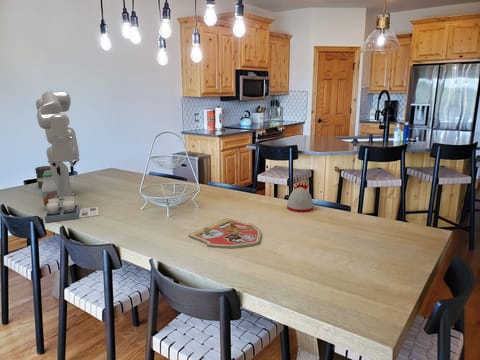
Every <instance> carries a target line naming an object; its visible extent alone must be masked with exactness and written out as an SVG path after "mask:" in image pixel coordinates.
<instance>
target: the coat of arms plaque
mask: <svg viewBox="0 0 480 360" xmlns="http://www.w3.org/2000/svg"><path fill="white" fill-rule="evenodd" d="M187 236H188V238H190V239H193V240H196V241H198V242H199V243H200V242H201V243H202V244H204V245H206V247H208V248H215V249H216V248H217V249H239V248H240V249H242V248H247V247H248V248H249V247H254V246H258V245H259V244H260V243H261V239H262V231H261V230H260V229H259V228H258V227H257V226H256V225H255V224H254V223H250V222H249V223H247V222H243V221H239V220H235V219H232V218H228V217H227V218H223V219H222V220H219V221H217V222H215V223H211V224H210V225H208V226H205V227H203V228H201V229H198V230H196V231H194V232H193V231H192V233H189V234H188V235H187Z"/></svg>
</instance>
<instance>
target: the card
mask: <svg viewBox="0 0 480 360" xmlns="http://www.w3.org/2000/svg"><path fill="white" fill-rule="evenodd" d="M98 216H99V207H98V206H93V207H87V208H79V218H78V219H82V218H84V219H85V218H92V217H98Z"/></svg>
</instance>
